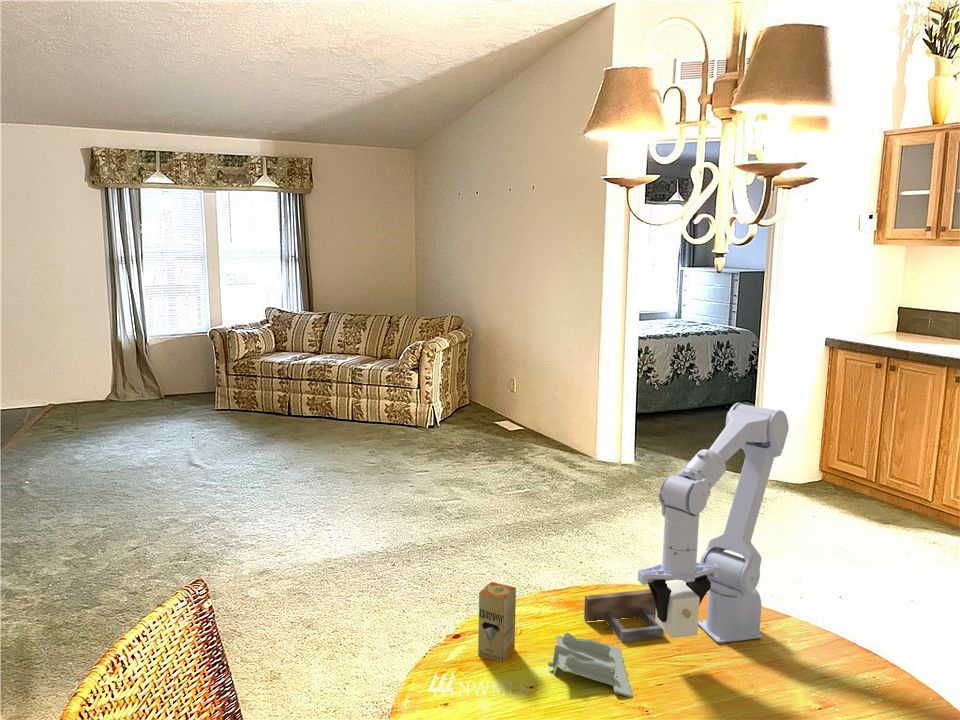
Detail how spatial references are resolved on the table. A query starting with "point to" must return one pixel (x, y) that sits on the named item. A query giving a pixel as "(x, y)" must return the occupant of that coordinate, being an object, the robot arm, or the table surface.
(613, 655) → the metal bracket
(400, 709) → the table surface
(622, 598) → the board
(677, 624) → the cabinet block
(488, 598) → the shoe polish box
